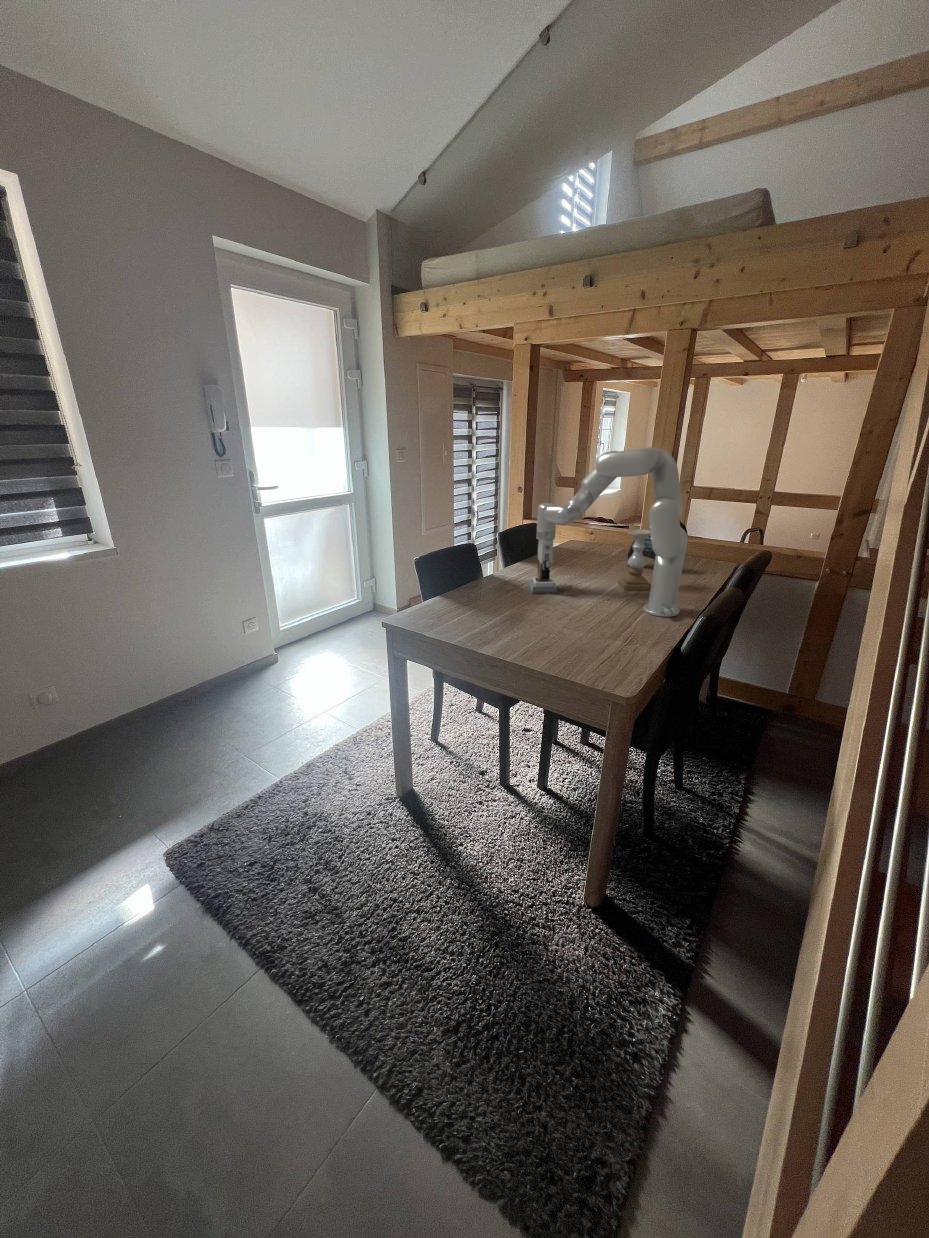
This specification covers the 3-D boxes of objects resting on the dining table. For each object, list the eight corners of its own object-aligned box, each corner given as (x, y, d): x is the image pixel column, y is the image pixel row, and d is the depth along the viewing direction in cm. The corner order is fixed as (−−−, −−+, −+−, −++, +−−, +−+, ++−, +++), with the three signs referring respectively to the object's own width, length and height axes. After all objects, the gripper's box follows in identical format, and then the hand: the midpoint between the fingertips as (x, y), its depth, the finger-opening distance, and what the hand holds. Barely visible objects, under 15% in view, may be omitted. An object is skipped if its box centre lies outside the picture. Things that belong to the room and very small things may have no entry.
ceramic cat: (670, 572, 231) (676, 530, 224) (664, 575, 227) (671, 532, 219) (630, 564, 244) (635, 524, 237) (624, 567, 240) (629, 526, 232)
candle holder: (650, 590, 207) (658, 534, 198) (624, 590, 207) (631, 534, 198) (642, 582, 217) (649, 528, 208) (617, 582, 217) (623, 528, 208)
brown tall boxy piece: (548, 589, 205) (550, 561, 201) (538, 589, 205) (540, 561, 201) (546, 586, 209) (548, 558, 204) (537, 586, 209) (538, 558, 204)
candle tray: (556, 593, 203) (557, 583, 201) (532, 593, 203) (532, 583, 201) (552, 586, 212) (552, 576, 210) (528, 586, 212) (529, 576, 210)
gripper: (559, 539, 191) (556, 581, 197) (551, 530, 207) (548, 569, 213) (540, 539, 191) (537, 582, 197) (533, 530, 207) (531, 569, 213)
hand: (543, 575), depth 205 cm, fingers open, 9 cm apart
